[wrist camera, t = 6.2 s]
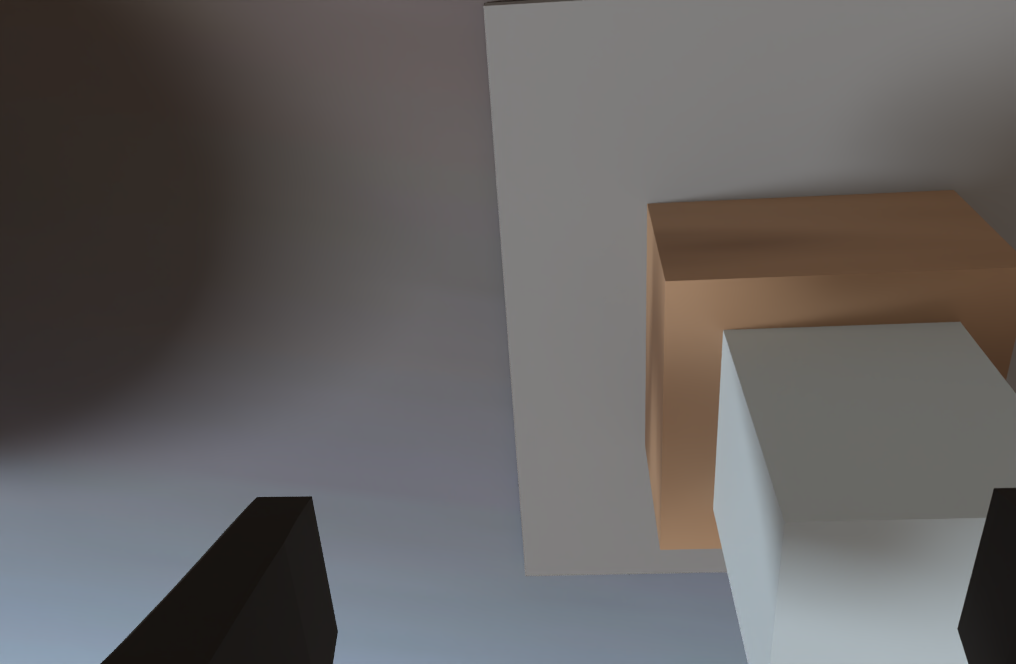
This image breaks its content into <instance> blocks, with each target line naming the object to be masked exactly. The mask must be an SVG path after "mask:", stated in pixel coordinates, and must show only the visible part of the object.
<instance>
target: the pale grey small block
mask: <svg viewBox="0 0 1016 664" xmlns="http://www.w3.org/2000/svg"><path fill="white" fill-rule="evenodd" d="M994 488H1016V393H1015V392H1014V390H1013V389H1012V388H1011V387H1010V385H1009V384H1008V383H1007V381H1006V380H1005V379H1004V378H1003V376H1002V375H1001V374H1000V372H999V371H998V370H997V369H996V367H995V366H994V365H993V363H992V362H991V361H990V360H989V358H988V357H987V356H986V354H985V353H984V352H983V350H982V349H981V348H980V347H979V345H978V344H977V343H976V341H975V340H974V339H973V338H972V336H971V335H970V334H969V332H968V331H967V330H966V329H965V327H964V326H963V325H962V323H961V322H937V323H909V324H880V325H851V326H822V327H793V328H765V329H736V330H723V342H722V359H721V377H720V395H719V413H718V431H717V449H716V467H715V485H714V502H713V511H714V515H715V520H716V524H717V529H718V533H719V537H720V542H721V546H722V551H723V555H724V559H725V564H726V568H727V573H728V577H729V582H730V586H731V590H732V595H733V599H734V604H735V608H736V612H737V617H738V621H739V626H740V630H741V634H742V639H743V643H744V648H745V652H746V657H747V661H748V664H968V661H967V658H966V655H965V652H964V649H963V645H962V642H961V639H960V636H959V633H958V630H957V628H958V624H959V620H960V616H961V613H962V609H963V605H964V601H965V597H966V593H967V590H968V586H969V582H970V578H971V574H972V570H973V567H974V563H975V559H976V555H977V551H978V547H979V543H980V540H981V536H982V532H983V528H984V524H985V520H986V517H987V513H988V509H989V505H990V501H991V497H992V494H993V490H994Z"/></svg>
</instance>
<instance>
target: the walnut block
mask: <svg viewBox="0 0 1016 664" xmlns="http://www.w3.org/2000/svg"><path fill="white" fill-rule="evenodd" d="M937 322H961V323H962V325H963V326H964V327H965V329H966V330H967V331H968V332H969V334H970V335H971V336H972V338H973V339H974V340H975V341H976V343H977V344H978V345H979V347H980V348H981V349H982V350H983V352H984V353H985V354H986V356H987V357H988V358H989V360H990V361H991V362H992V363H993V365H994V366H995V367H996V369H997V370H998V371H999V372H1000V374H1001V375H1002V376H1003V378H1004V379H1005V380H1006V378H1007V374H1008V370H1009V365H1010V361H1011V356H1012V352H1013V348H1014V343H1015V339H1016V251H1015V250H1014V249H1013V248H1012V247H1011V246H1010V245H1009V244H1008V243H1007V242H1006V241H1005V240H1004V239H1003V238H1002V237H1001V236H1000V235H999V234H998V233H997V232H996V231H995V230H994V229H993V228H992V227H991V226H990V225H989V224H988V223H987V222H986V221H985V220H984V219H983V218H982V217H981V216H980V215H979V214H978V213H977V212H976V211H975V210H974V209H973V208H972V207H971V206H970V205H969V204H968V203H967V202H966V201H964V200H963V199H962V198H961V197H960V196H959V195H958V194H957V193H956V192H955V191H954V190H941V191H919V192H897V193H874V194H852V195H829V196H807V197H785V198H762V199H740V200H718V201H695V202H673V203H651V204H647V276H646V392H645V449H646V456H647V463H648V469H649V476H650V483H651V490H652V497H653V504H654V511H655V518H656V525H657V532H658V539H659V546H660V550H678V549H722V546H721V542H720V537H719V533H718V529H717V524H716V520H715V515H714V511H713V502H714V485H715V467H716V449H717V431H718V413H719V395H720V377H721V359H722V342H723V330H736V329H765V328H793V327H822V326H851V325H880V324H909V323H937Z"/></svg>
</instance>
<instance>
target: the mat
mask: <svg viewBox="0 0 1016 664" xmlns="http://www.w3.org/2000/svg"><path fill="white" fill-rule="evenodd" d="M483 7H484V20H485V34H486V47H487V61H488V75H489V88H490V102H491V115H492V129H493V142H494V156H495V170H496V183H497V197H498V210H499V224H500V237H501V251H502V265H503V278H504V292H505V305H506V319H507V332H508V346H509V360H510V373H511V387H512V400H513V414H514V428H515V441H516V455H517V468H518V482H519V495H520V509H521V523H522V536H523V550H524V563H525V576H555V575H607V574H658V573H710V572H727V568H726V564H725V559H724V555H723V551H722V549H678V550H660V546H659V539H658V532H657V525H656V518H655V511H654V504H653V497H652V490H651V483H650V476H649V469H648V463H647V456H646V449H645V392H646V276H647V204H651V203H673V202H695V201H718V200H740V199H762V198H785V197H807V196H829V195H852V194H874V193H897V192H919V191H941V190H954V191H955V192H956V193H957V194H958V195H959V196H960V197H961V198H962V199H963V200H964V201H966V202H967V203H968V204H969V205H970V206H971V207H972V208H973V209H974V210H975V211H976V212H977V213H978V214H979V215H980V216H981V217H982V218H983V219H984V220H985V221H986V222H987V223H988V224H989V225H990V226H991V227H992V228H993V229H994V230H995V231H996V232H997V233H998V234H999V235H1000V236H1001V237H1002V238H1003V239H1004V240H1005V241H1006V242H1007V243H1008V244H1009V245H1010V246H1011V247H1012V248H1013V249H1014V250H1015V251H1016V0H525V1H509V2H492V3H484V6H483ZM1006 381H1007V383H1008V384H1009V385H1010V387H1011V388H1012V389H1013V390H1014V392H1015V393H1016V339H1015V343H1014V348H1013V352H1012V356H1011V361H1010V365H1009V370H1008V374H1007V378H1006Z"/></svg>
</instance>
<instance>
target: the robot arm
mask: <svg viewBox="0 0 1016 664" xmlns="http://www.w3.org/2000/svg"><path fill="white" fill-rule="evenodd" d="M957 630H958V633H959V636H960V639H961V642H962V645H963V649H964V652H965V655H966V658H967V661H968V664H1016V488H994V490H993V494H992V497H991V501H990V505H989V509H988V513H987V517H986V520H985V524H984V528H983V532H982V536H981V540H980V543H979V547H978V551H977V555H976V559H975V563H974V567H973V570H972V574H971V578H970V582H969V586H968V590H967V593H966V597H965V601H964V605H963V609H962V613H961V616H960V620H959V624H958V628H957ZM337 633H338V630H337V625H336V620H335V615H334V610H333V604H332V599H331V594H330V589H329V584H328V578H327V573H326V568H325V563H324V558H323V552H322V547H321V542H320V537H319V532H318V527H317V521H316V516H315V511H314V506H313V501H312V497H257V498H256V499H255V500H254V501H253V502H252V503H251V504H250V505H249V506H248V507H247V508H246V509H245V510H244V511H243V512H242V513H241V514H240V515H239V516H238V517H237V519H236V520H235V521H234V522H233V523H232V524H231V525H230V526H229V527H228V528H227V530H226V531H225V532H224V533H223V534H222V535H221V536H220V537H219V538H218V540H217V541H216V542H215V543H214V544H213V545H212V546H211V547H210V548H209V550H208V551H207V552H206V553H205V554H204V555H203V556H202V557H201V558H200V560H199V561H198V562H197V563H196V564H195V565H194V566H193V567H192V568H191V569H190V571H189V572H188V573H187V574H186V575H185V576H184V577H183V578H182V579H181V580H180V581H179V583H178V584H177V585H176V586H175V587H174V588H173V589H172V590H171V591H170V592H169V593H168V594H167V596H166V597H165V598H164V599H163V600H162V601H161V602H160V603H159V604H158V605H157V606H156V607H155V608H154V609H153V610H152V611H151V612H150V613H149V614H148V616H147V617H146V618H145V619H144V620H143V621H142V622H141V623H140V624H139V625H138V626H137V627H136V628H135V629H134V630H133V631H132V632H131V633H130V634H129V636H128V637H127V638H126V639H125V640H124V641H123V642H122V643H121V644H120V645H119V646H118V647H117V648H116V649H115V650H114V651H113V652H112V653H111V654H110V655H109V656H108V657H107V658H106V659H105V660H104V661H103V662H102V663H101V664H333V659H334V652H335V646H336V639H337Z"/></svg>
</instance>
